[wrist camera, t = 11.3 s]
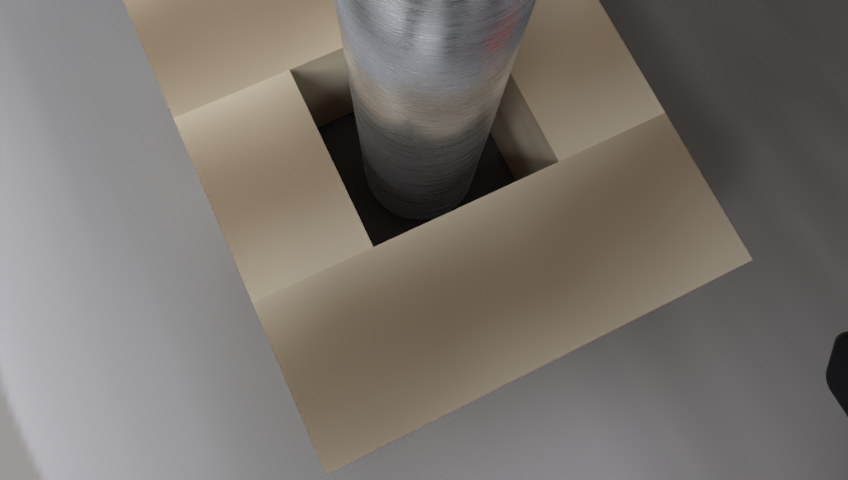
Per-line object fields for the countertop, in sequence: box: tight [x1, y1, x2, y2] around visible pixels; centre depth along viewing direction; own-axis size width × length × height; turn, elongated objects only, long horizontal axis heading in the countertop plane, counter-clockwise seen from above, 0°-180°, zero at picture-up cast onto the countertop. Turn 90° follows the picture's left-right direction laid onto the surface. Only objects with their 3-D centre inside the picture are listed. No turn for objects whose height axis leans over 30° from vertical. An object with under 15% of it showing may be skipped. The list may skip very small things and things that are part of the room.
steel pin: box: [334, 0, 536, 220], centre depth 11 cm, size 4×4×14 cm
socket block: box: [123, 0, 752, 475], centre depth 16 cm, size 12×10×4 cm
